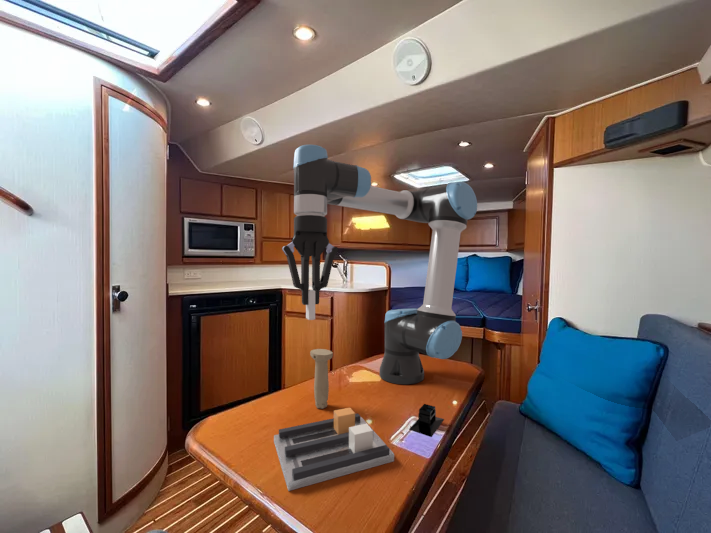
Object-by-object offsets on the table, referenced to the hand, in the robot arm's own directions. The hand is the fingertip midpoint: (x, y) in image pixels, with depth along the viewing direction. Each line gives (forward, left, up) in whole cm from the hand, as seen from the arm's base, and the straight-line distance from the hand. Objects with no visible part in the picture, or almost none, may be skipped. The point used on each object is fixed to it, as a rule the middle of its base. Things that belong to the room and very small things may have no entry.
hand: (310, 318), depth 73 cm
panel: (-2, +9, -26) cm, 28 cm away
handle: (-6, -11, -27) cm, 29 cm away
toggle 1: (-6, +5, -25) cm, 26 cm away
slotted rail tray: (-2, +9, -25) cm, 27 cm away
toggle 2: (-7, +13, -25) cm, 29 cm away
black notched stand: (-27, +8, -27) cm, 39 cm away
